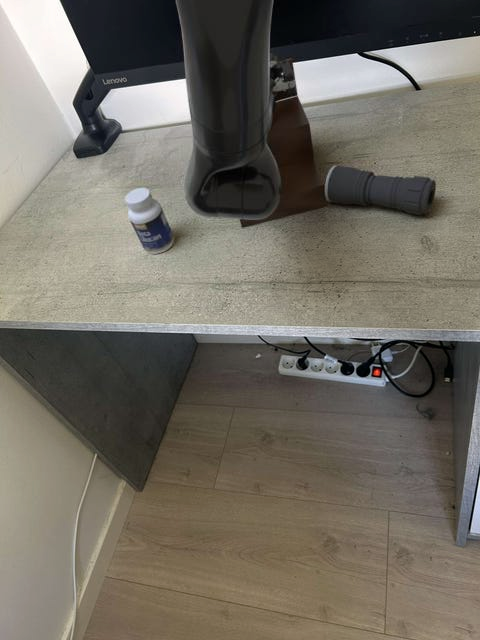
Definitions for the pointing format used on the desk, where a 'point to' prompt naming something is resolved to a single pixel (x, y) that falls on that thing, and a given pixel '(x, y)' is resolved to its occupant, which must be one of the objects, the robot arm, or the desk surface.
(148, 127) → the desk surface
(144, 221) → the pill bottle
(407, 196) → the flashlight
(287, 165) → the wooden stair steps
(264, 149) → the robot arm
